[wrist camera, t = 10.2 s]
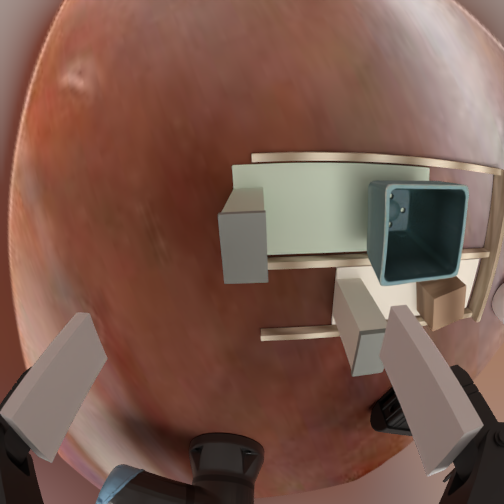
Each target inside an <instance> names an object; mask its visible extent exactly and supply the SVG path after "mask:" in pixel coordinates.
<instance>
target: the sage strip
mask: <svg viewBox="0 0 504 504" xmlns="http://www.w3.org/2000/svg"><path fill="white" fill-rule="evenodd" d="M429 170H430V168H428V167H418V166H406V165H390V164H371V163H336V162H299V163H263V164H242V165H232V173H233V188H234V189H233V191H232V193H231V195H230V197H229V198H228V200H227V202H226V204H225V206H224V208H223V210H222V212H221V213H218V224H219V234H220V245H221V255H222V265H223V274H224V284H236V283H267V282H268V259H267V255H279V254H305V253H330V252H355V251H367V225H368V185H369V183H370V182H372V181H376V180H400V181H429ZM392 197H393V195H392V194H390V198H392ZM401 212H404V208H401ZM391 225H392V223H391V222H389V227H390V226H391Z"/></svg>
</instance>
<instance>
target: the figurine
mask: <svg viewBox="0 0 504 504" xmlns="http://www.w3.org/2000/svg"><path fill="white" fill-rule="evenodd" d="M492 309H493V311H494V313H495V315H496V316H497V317H498V319H499V320H500V321H501V322H502V323H503V324H504V283H503V284H502V285H501V286H500V287H499V288H498V290H497V291H496V293H495V295H494V297H493V300H492Z"/></svg>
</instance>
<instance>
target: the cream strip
mask: <svg viewBox="0 0 504 504" xmlns="http://www.w3.org/2000/svg"><path fill="white" fill-rule="evenodd" d="M478 262H479V258H473V259H461V262H460V267H459V271H458V274H457V275H456V276H457V277H458V278H459V279H460V280H461V281H462V282H463V283H464V284H465V285H466V298H465V308H466V306H467V303H468V299H469V296H470V293H471V289H472V286H473V282H474V278H475V274H476V270H477V266H478ZM398 305H407V306H408V308H409V309H410V310H411V312H412V313H413V314H414V316H417V315H420V314H419V312H418V311H417V294H416V282H414V283H407V284H400V285H393V286H381V285H380V283H379V281H378V278H377V276H376V274H375V272H374V270H373V267H372V265H362V266H343V267H336V276H335V288H334V299H333V310H332V319H331V324H332V325H335V324H336V325H337V328H338V331H339V334H340V337H341V340H342V343H343V345H344V348H345V351H346V354H347V357H348V360H349V364H350V367H351V374H352V376H360V375H367V374H374V373H380V372H383V369H384V366H383V363H382V361H381V359H380V357H379V354H380V350H381V347H382V343H383V339H384V335H385V330H386V326H387V321H386V319H388V317H389V312H390V308H391V306H398Z"/></svg>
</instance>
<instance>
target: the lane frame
mask: <svg viewBox="0 0 504 504" xmlns="http://www.w3.org/2000/svg"><path fill="white" fill-rule="evenodd" d="M270 161H362V162H384V163H400V164H413V165H424V166H435V167H444V168H453V169H461V170H468V171H475V172H482V173H489V174H494V179H493V191H492V200H491V208H490V215H489V222H488V228H487V234H486V239H485V244H484V248H471V249H462V256H461V259H473V258H481V263H480V267H479V271H478V275H477V279H476V282H475V286H474V289H473V293H472V296H471V299H470V303H469V306H468V308H464V316H463V318H462V319H464V318H469V317H472V318H473V319H474V321H475V322H480V319H481V316H482V313H483V310H484V308H485V305H486V302H487V299H488V295H489V292H490V289H491V286H492V282H493V279H494V275H495V271H496V267H497V263H498V259H499V255H500V251H501V246H502V241H503V236H504V170H502V169H499V168H494V167H488V166H482V165H476V164H470V163H464V162H457V161H449V160H441V159H433V158H424V157H414V156H402V155H389V154H373V153H350V152H272V153H252V162H270ZM267 259H268V270H274V269H299V268H322V267H343V266H362V265H371V263H370V261H369V258H368V254H367V253H363V254H339V255H315V256H290V257H267ZM415 317H416V319H417V320H418V321H419V323H420V324H421V326H425V325H427V323H426V322H425V321H424V319H423V318H422V317H421V315H418V316H415ZM386 321H387V322H388V319H387V320H386ZM337 336H340V334H339V331H338V328H337V325H323V326H308V327H290V328H265V329H261V341H271V340H294V339H311V338H325V337H337Z"/></svg>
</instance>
